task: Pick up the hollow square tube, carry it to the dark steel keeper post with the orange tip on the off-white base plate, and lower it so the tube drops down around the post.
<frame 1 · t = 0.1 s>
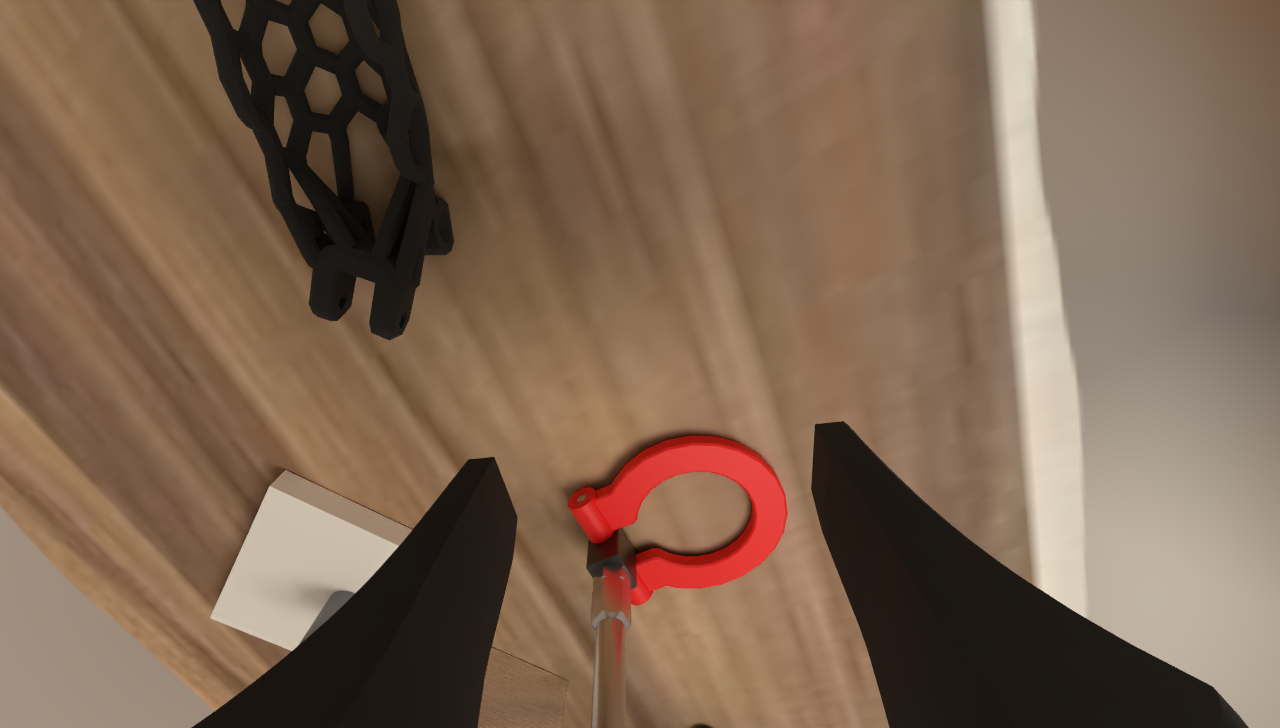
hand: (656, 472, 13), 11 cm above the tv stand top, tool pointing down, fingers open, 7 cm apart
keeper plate: (358, 584, 29), on the tv stand top
hollow square tube: (504, 688, 32), on the tv stand top
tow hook: (685, 507, 27), on the tv stand top
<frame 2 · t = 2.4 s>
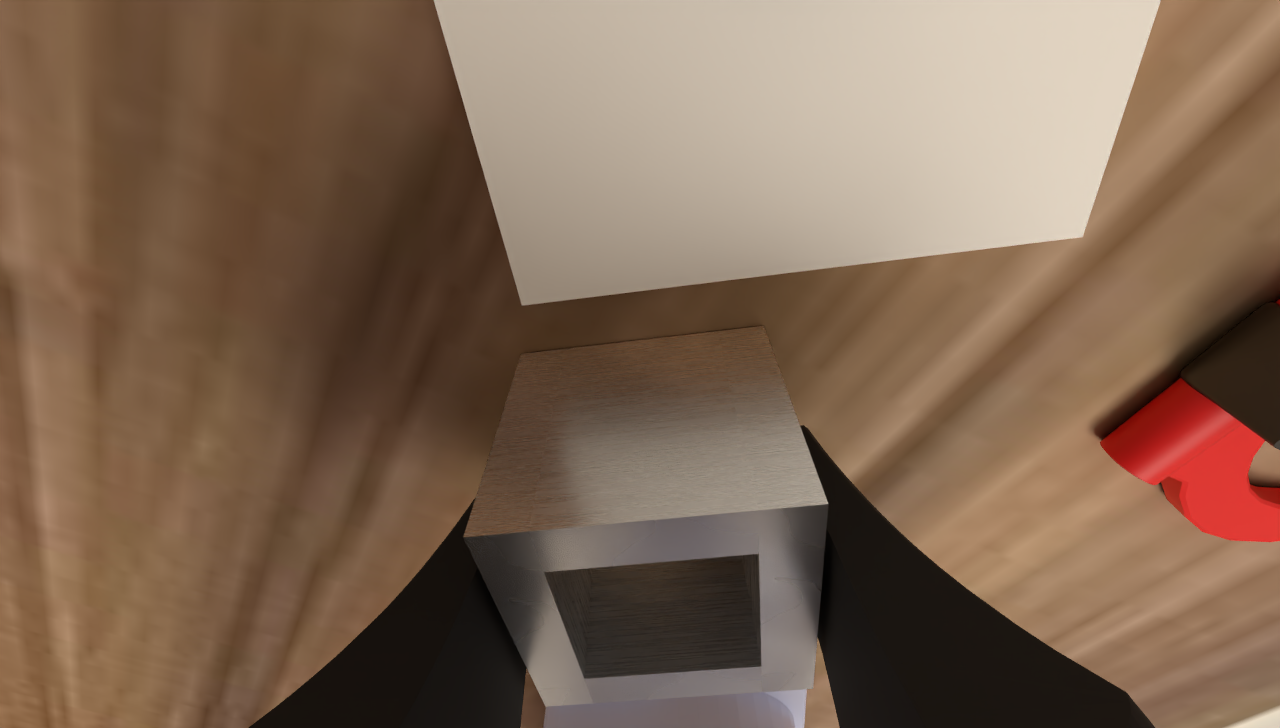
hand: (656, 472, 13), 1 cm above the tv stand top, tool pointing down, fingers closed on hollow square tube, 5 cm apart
hollow square tube: (654, 431, 14), on the tv stand top, touching gripper
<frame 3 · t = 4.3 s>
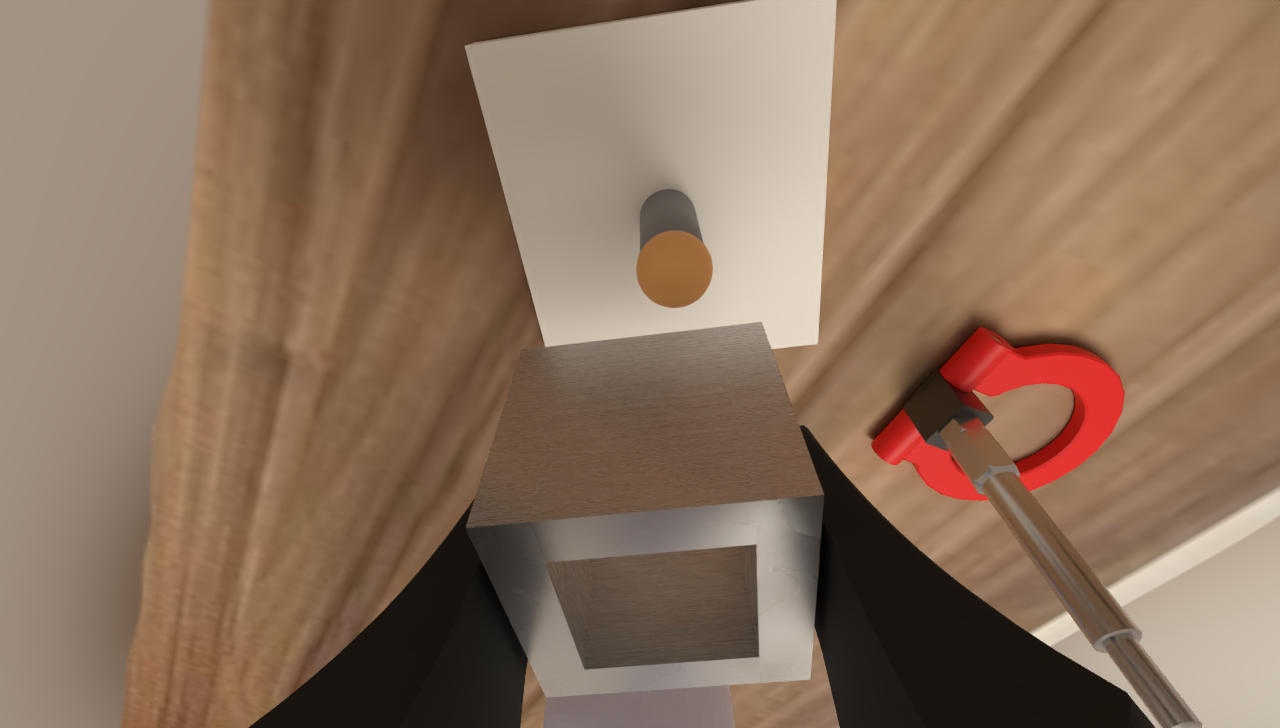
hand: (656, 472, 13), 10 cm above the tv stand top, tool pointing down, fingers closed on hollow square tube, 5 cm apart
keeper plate: (666, 205, 19), on the tv stand top
hollow square tube: (654, 427, 14), point 8 cm above the tv stand top, touching gripper
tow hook: (995, 413, 24), on the tv stand top
when the fingers open (4 cm above the tv stand top, at t = 6.1 s): hollow square tube drops 1 cm, resting on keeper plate.
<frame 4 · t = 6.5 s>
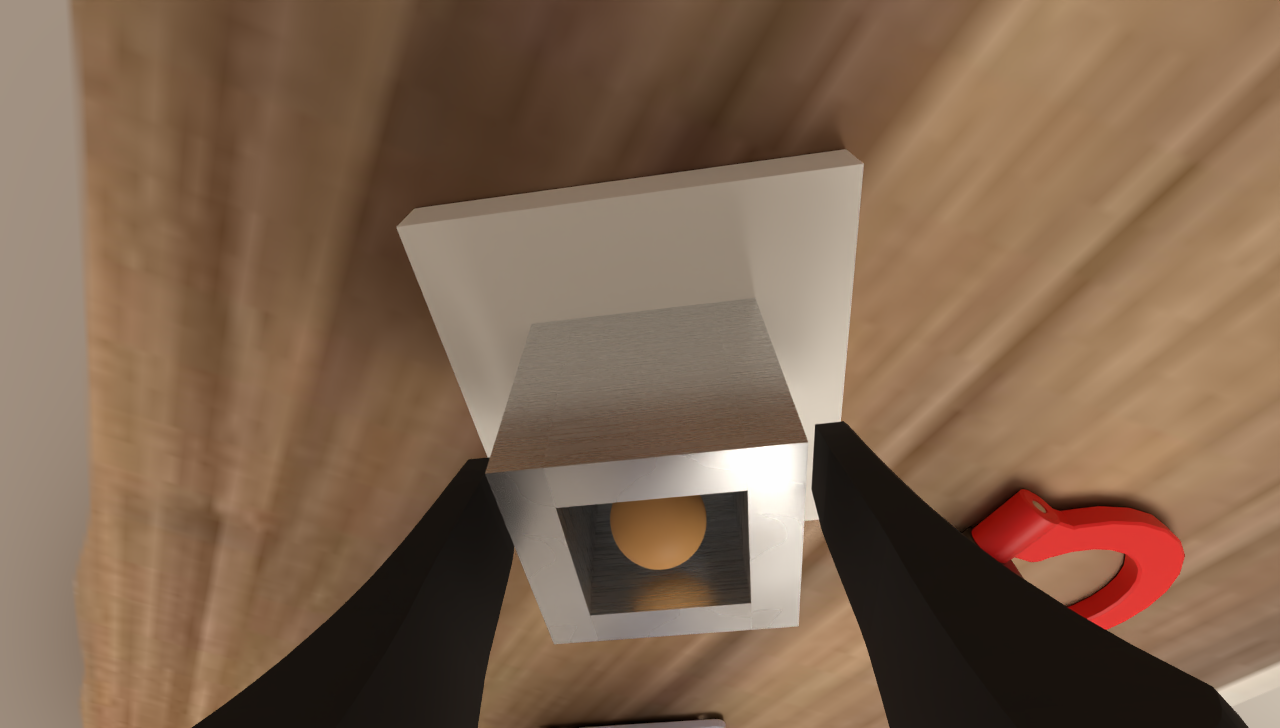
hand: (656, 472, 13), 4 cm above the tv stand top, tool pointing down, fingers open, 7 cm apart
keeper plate: (652, 373, 16), on the tv stand top
hollow square tube: (654, 399, 15), point 1 cm above the tv stand top, touching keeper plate
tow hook: (1031, 565, 21), on the tv stand top
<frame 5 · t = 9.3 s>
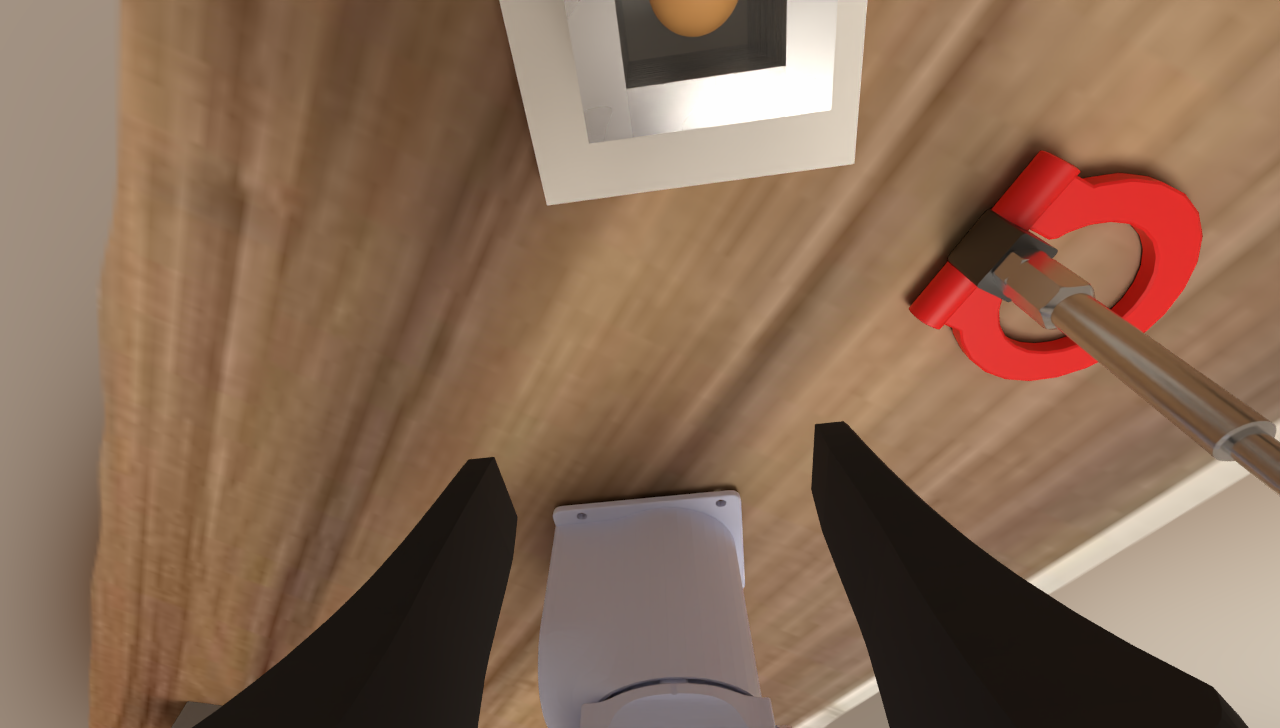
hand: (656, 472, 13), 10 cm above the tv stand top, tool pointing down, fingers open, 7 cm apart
dice cube: (230, 717, 42), on the tv stand top
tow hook: (1049, 273, 22), on the tv stand top
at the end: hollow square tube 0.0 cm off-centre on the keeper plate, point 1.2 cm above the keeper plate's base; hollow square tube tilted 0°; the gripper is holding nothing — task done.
